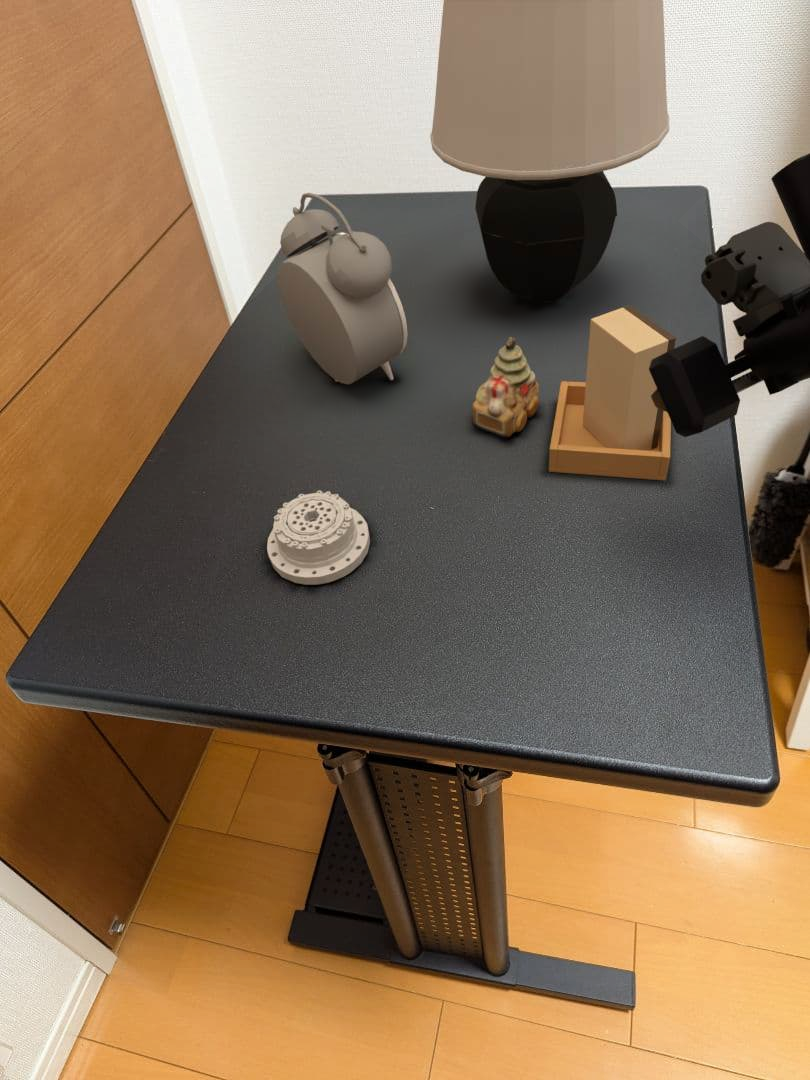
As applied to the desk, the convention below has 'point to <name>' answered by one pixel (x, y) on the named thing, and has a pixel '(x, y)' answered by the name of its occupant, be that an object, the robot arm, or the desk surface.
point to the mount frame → (588, 456)
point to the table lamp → (548, 125)
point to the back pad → (623, 379)
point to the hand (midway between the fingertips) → (696, 380)
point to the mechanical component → (317, 539)
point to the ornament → (507, 393)
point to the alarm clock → (340, 294)
